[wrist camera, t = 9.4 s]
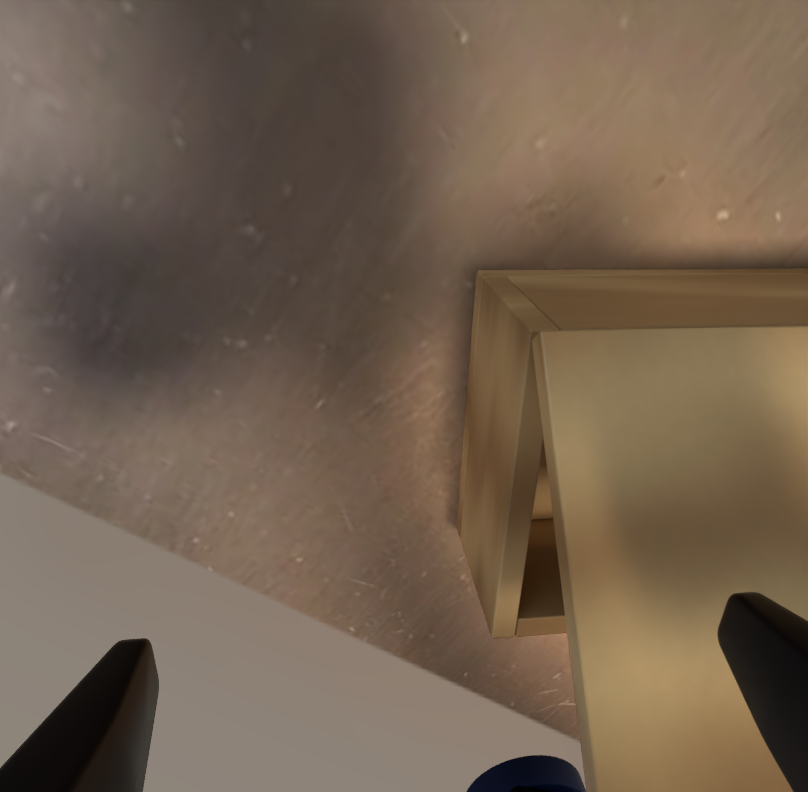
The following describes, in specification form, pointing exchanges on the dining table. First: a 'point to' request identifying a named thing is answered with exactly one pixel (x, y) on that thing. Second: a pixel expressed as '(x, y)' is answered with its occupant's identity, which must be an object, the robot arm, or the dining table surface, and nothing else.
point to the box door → (673, 537)
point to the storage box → (520, 411)
